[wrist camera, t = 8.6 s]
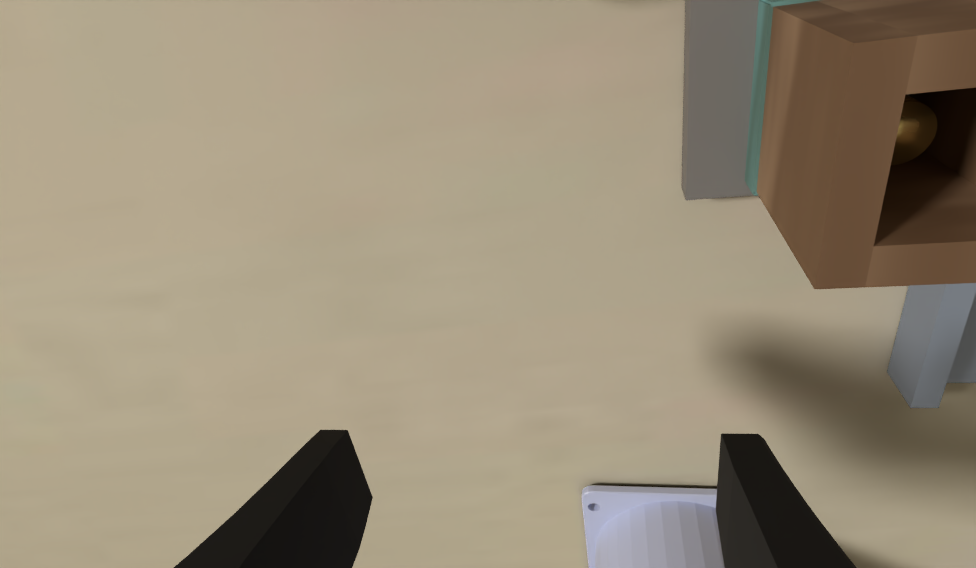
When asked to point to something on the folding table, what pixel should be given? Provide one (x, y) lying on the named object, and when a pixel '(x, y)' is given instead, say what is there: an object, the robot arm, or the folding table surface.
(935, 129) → the brass pin
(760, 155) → the walnut sleeve
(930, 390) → the tray
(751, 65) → the pin board
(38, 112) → the folding table surface
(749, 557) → the robot arm
